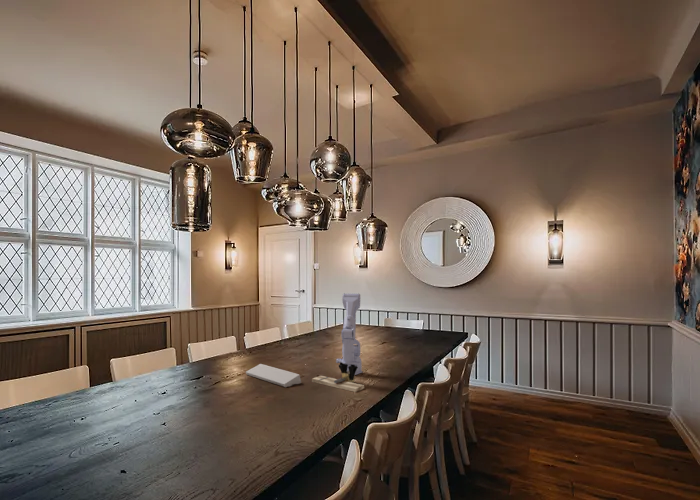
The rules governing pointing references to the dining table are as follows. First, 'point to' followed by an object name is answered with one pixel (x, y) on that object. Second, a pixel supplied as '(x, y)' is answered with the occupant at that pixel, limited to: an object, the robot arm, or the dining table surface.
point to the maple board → (341, 385)
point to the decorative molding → (274, 375)
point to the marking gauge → (344, 377)
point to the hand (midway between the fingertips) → (348, 379)
